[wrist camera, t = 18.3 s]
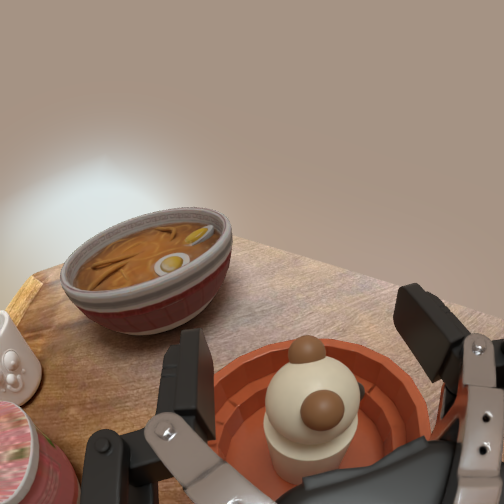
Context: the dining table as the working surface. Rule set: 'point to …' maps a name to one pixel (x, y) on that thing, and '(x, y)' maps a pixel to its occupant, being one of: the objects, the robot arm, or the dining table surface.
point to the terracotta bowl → (369, 413)
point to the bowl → (150, 270)
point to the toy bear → (310, 411)
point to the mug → (16, 364)
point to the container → (32, 463)
